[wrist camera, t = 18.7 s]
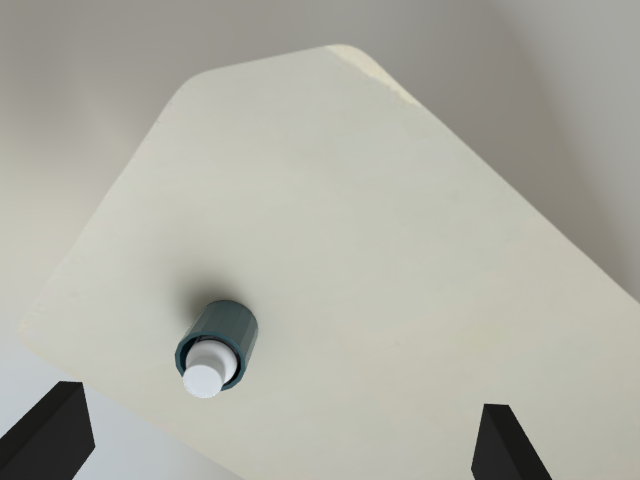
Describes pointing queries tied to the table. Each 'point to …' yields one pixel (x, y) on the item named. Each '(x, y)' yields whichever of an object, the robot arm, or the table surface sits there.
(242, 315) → the cup
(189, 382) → the pill bottle
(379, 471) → the table surface
